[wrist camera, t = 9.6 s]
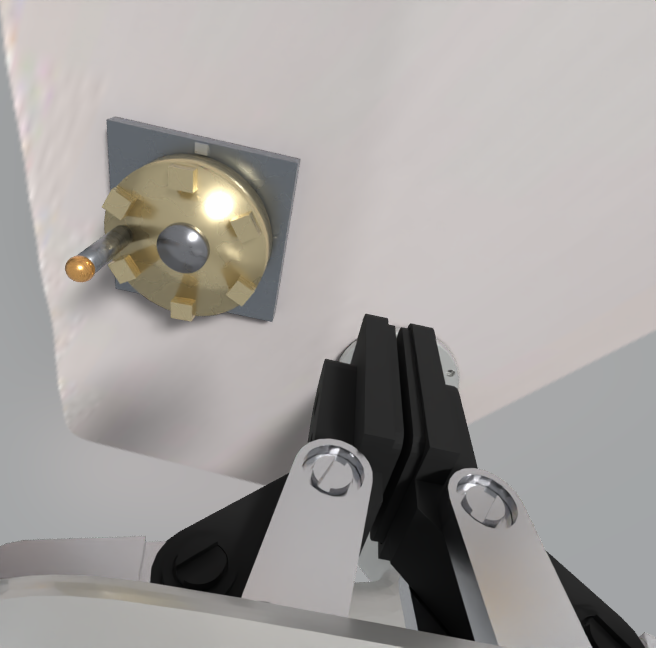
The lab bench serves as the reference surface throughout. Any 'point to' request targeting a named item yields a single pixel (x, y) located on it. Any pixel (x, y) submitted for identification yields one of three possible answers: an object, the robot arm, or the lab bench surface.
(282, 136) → the lab bench surface
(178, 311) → the brass dial with handle
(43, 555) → the robot arm
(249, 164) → the base plate
